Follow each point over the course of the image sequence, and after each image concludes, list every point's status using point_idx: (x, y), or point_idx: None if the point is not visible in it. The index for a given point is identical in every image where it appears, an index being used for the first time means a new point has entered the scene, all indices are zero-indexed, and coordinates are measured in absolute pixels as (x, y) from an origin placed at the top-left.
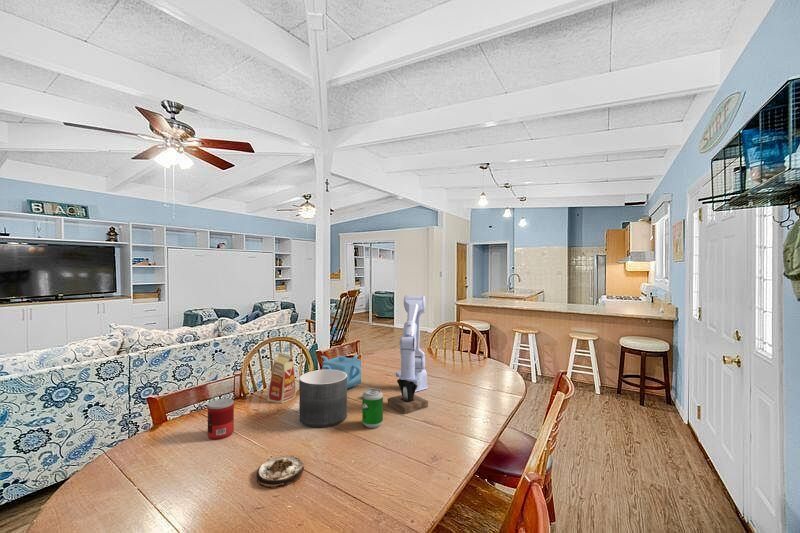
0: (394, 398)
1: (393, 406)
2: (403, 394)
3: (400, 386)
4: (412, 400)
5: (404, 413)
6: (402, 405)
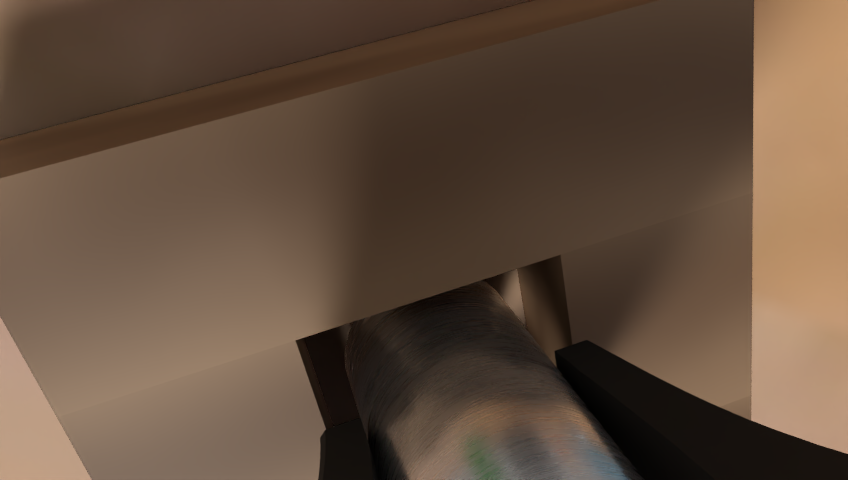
0: (659, 147)
1: (453, 27)
2: (508, 393)
3: (788, 477)
4: None
5: (7, 140)
6: (140, 183)
